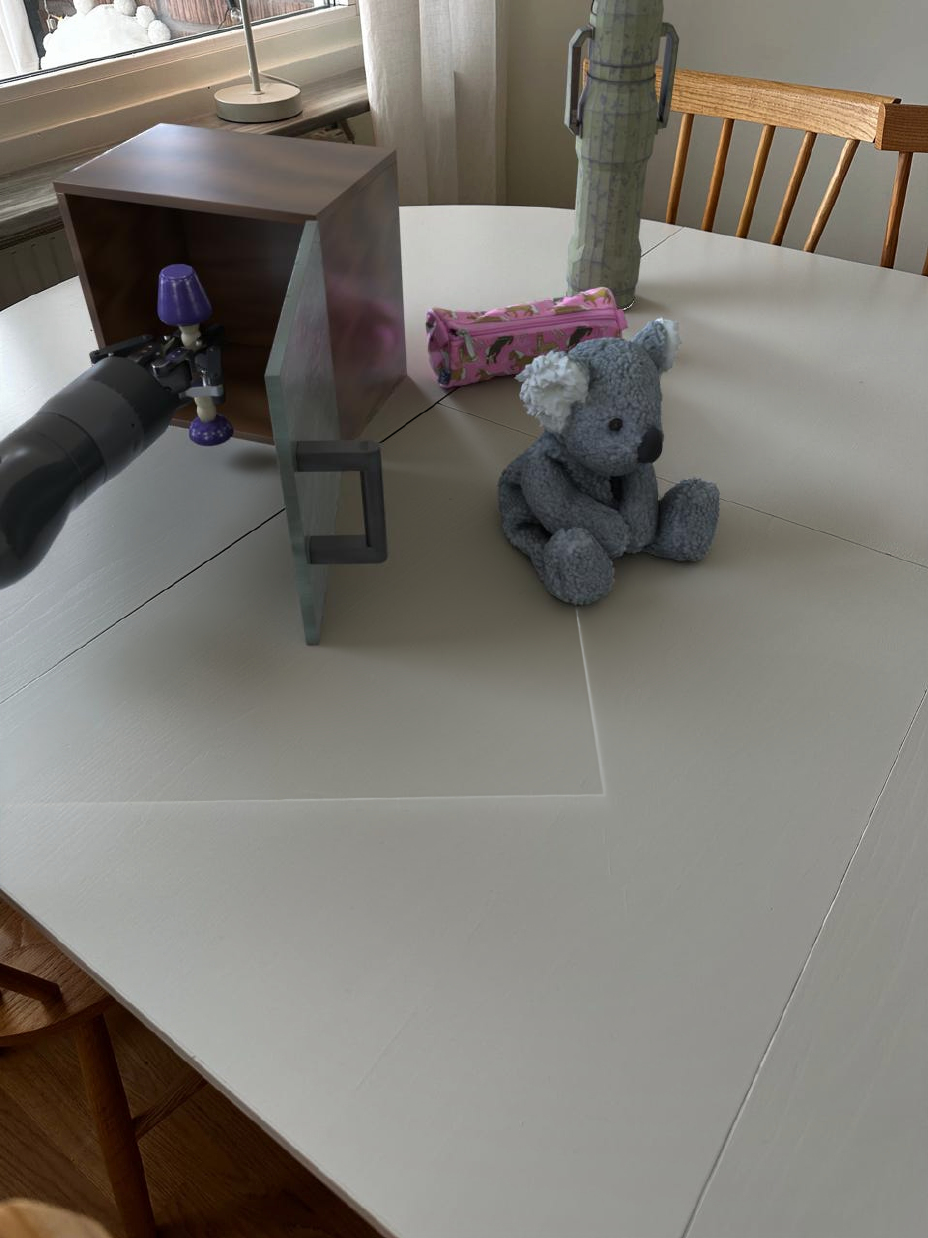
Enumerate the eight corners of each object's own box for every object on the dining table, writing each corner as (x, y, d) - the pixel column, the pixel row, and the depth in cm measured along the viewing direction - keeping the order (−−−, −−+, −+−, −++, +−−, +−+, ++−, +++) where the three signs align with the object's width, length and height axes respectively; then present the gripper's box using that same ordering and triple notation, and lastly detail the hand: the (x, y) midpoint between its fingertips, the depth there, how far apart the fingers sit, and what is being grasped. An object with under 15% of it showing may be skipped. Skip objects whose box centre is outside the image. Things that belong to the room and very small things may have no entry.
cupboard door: (401, 461, 97) (388, 219, 81) (391, 644, 78) (371, 374, 62) (332, 462, 97) (305, 220, 81) (306, 645, 78) (264, 375, 62)
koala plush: (568, 626, 79) (588, 415, 66) (452, 514, 91) (449, 314, 77) (726, 554, 86) (773, 350, 73) (600, 459, 97) (621, 266, 84)
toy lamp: (233, 448, 93) (204, 280, 82) (183, 451, 93) (147, 282, 81) (234, 421, 97) (206, 256, 85) (186, 424, 96) (151, 258, 85)
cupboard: (341, 459, 97) (315, 215, 81) (117, 415, 104) (51, 180, 87) (407, 375, 110) (396, 148, 94) (203, 340, 116) (160, 122, 100)
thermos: (543, 290, 126) (560, -32, 102) (627, 279, 128) (663, -38, 105) (568, 320, 120) (593, -16, 96) (657, 307, 122) (701, -23, 99)
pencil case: (441, 406, 105) (439, 329, 99) (421, 365, 111) (418, 290, 105) (627, 380, 109) (636, 304, 103) (597, 342, 116) (605, 269, 110)
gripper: (165, 396, 74) (272, 303, 86) (15, 367, 78) (138, 281, 90) (184, 478, 79) (282, 379, 91) (42, 448, 83) (155, 356, 95)
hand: (210, 331), depth 90 cm, fingers closed on toy lamp
